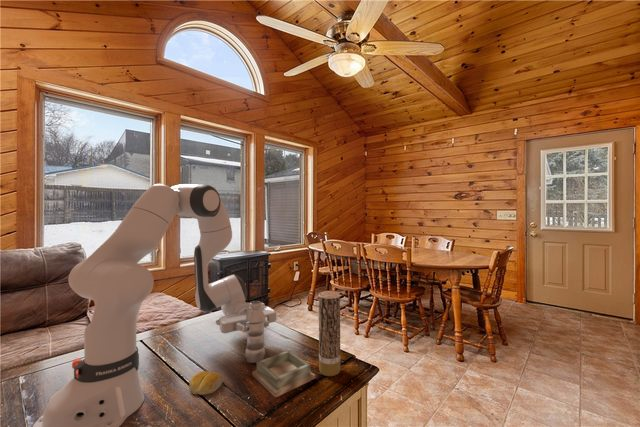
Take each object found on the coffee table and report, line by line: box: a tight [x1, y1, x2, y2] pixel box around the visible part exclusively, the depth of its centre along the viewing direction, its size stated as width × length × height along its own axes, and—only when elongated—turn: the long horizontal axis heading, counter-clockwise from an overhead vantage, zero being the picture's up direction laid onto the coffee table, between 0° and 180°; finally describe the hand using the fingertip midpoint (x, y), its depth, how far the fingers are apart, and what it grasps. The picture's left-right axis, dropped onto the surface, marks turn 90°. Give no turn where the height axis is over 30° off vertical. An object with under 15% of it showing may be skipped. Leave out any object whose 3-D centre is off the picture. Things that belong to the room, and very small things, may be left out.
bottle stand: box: [251, 349, 316, 398], centre depth 90 cm, size 14×14×4 cm
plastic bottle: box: [244, 300, 266, 364], centre depth 99 cm, size 6×7×20 cm
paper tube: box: [318, 290, 341, 377], centre depth 92 cm, size 7×7×25 cm
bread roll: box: [188, 370, 223, 396], centre depth 85 cm, size 8×9×4 cm
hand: (256, 327), depth 98 cm, fingers open, 6 cm apart
